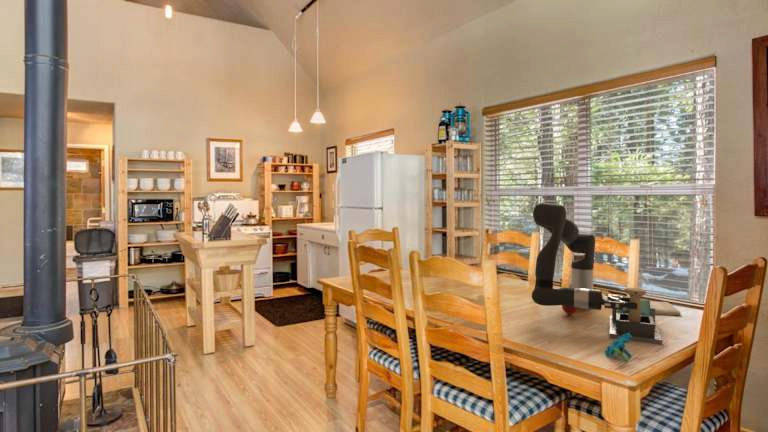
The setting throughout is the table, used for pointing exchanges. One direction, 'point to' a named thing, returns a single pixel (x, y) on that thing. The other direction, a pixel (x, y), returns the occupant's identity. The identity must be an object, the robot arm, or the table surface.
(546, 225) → the robot arm
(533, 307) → the table surface
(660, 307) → the washcloth
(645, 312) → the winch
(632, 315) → the handle
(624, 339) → the teal lobed piece
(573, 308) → the onion
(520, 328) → the table surface
